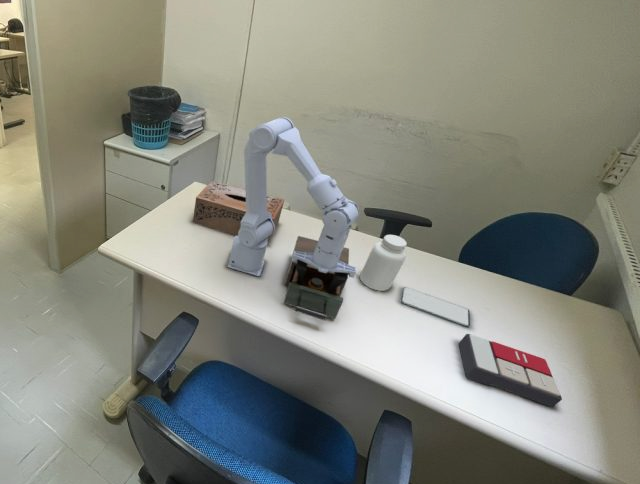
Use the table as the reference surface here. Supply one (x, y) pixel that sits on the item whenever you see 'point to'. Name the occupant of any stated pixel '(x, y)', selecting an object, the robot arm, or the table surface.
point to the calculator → (508, 369)
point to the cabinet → (309, 247)
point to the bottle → (315, 284)
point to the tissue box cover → (228, 207)
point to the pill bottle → (384, 263)
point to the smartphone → (436, 306)
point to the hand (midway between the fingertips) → (314, 288)
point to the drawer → (313, 296)
